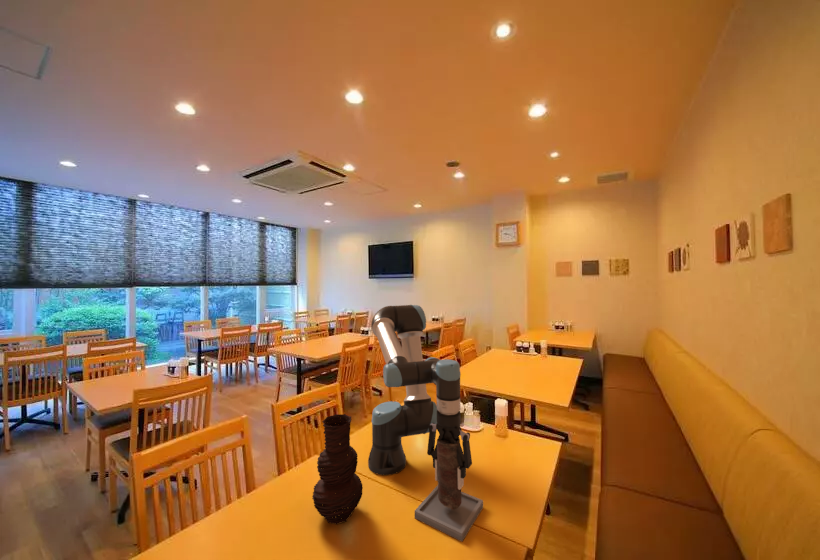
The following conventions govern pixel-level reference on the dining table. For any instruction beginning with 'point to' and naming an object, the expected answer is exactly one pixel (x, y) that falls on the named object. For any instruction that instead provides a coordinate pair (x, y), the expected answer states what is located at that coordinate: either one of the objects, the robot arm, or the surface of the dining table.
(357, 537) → the dining table surface
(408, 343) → the robot arm
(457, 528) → the tray
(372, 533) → the dining table surface
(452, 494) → the brown cylinder
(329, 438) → the vase
